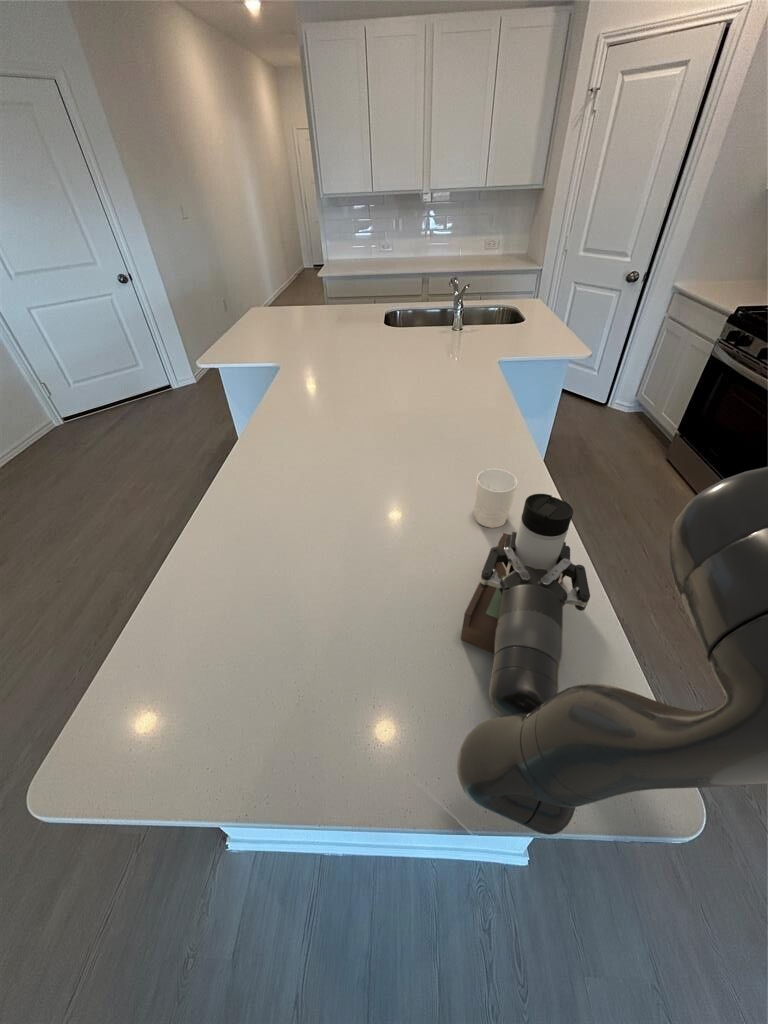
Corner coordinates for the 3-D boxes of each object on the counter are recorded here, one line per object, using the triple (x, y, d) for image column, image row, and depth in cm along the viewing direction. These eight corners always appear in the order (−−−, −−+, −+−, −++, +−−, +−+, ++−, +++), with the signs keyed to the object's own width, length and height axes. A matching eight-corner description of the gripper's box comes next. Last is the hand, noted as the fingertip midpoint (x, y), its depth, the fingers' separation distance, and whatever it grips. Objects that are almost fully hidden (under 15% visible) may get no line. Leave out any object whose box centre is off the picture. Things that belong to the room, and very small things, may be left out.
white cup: (511, 510, 95) (520, 472, 89) (506, 533, 90) (514, 495, 83) (475, 502, 97) (481, 465, 91) (467, 525, 92) (473, 487, 85)
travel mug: (493, 602, 70) (515, 504, 57) (514, 578, 74) (539, 482, 61) (529, 624, 67) (560, 526, 54) (549, 598, 70) (583, 501, 58)
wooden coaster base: (561, 580, 80) (571, 554, 75) (535, 670, 67) (544, 645, 62) (497, 559, 84) (503, 532, 80) (460, 639, 71) (464, 613, 67)
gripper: (602, 629, 49) (596, 531, 61) (472, 598, 52) (491, 512, 64) (583, 665, 53) (581, 568, 66) (466, 635, 57) (484, 548, 69)
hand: (537, 541), depth 65 cm, fingers closed on travel mug, 6 cm apart
